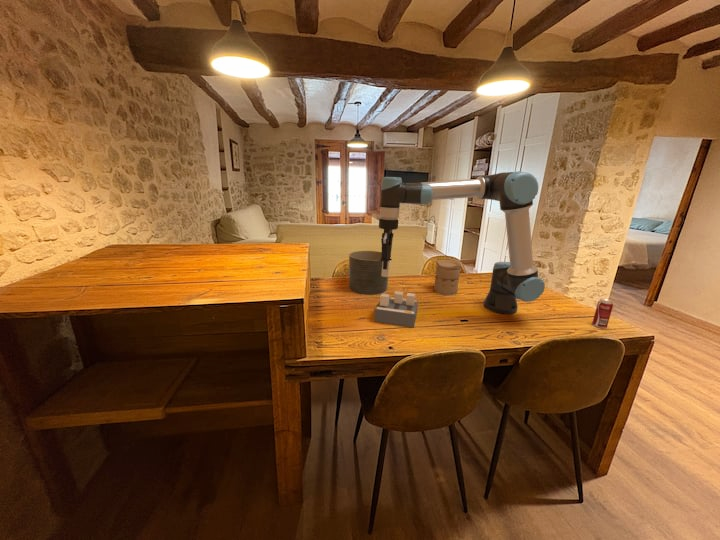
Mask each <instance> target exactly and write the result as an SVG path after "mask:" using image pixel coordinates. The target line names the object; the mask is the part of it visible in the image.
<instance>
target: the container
mask: <svg viewBox="0 0 720 540" xmlns="http://www.w3.org/2000/svg"><path fill="white" fill-rule="evenodd" d="M461 267H462V263H461V262H460V261H457V260H453V259H448V258H447V259H438V260H437V261H436V269H435V278H434V286H433V287H434V292H435V293H437V294H439V295H443V296H456V295H457V294H458V290H459V281H460V277H461Z"/></svg>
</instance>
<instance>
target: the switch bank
mask: <svg viewBox="0 0 720 540" xmlns="http://www.w3.org/2000/svg"><path fill="white" fill-rule="evenodd" d="M406 299H407V298H403V302H402V304H397V303H394V296H389V305H388V307H386V306H380V300H379V301H378V303H377V304H376V307H375V309H374V323H379V324H385V325H392V326H400V327H406V328H415V324H416V319H417V315H418V308H419V300H417V299H415V304H414V306H409V305H406Z"/></svg>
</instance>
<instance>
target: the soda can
mask: <svg viewBox="0 0 720 540" xmlns="http://www.w3.org/2000/svg"><path fill="white" fill-rule="evenodd" d="M613 303H614V302H613V301H612V300H608V299H606V298H605V299H604V298H600V299H599V300H598V301H597V304H596V306H595V307H596V309H595V312H594V315H593V319H592V322H591V324H592V326H593V327H595V328H598V329H607V327H608V324H609V321H610V317H611V314H612V310H613V307H614V305H613Z"/></svg>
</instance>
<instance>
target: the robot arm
mask: <svg viewBox="0 0 720 540" xmlns="http://www.w3.org/2000/svg"><path fill="white" fill-rule="evenodd" d="M538 193H539V182H538V180H537V178H536V177H535V176H534V175H533V174H532V173H530V172H527V171H520V170H519V171H509V172H504V171H503V172H499V173H492V174H489V175H488V174H487V175H480V176H478V177H477V178H473V179H456V180H454V179H453V180H441V181H439V180H438V181H425V182H422V181H421V182H406V183H405V182H403V179H402V177H399V176H384V177H383V178H382V180H381V185H380V202H379V208H378V212H379V217H380V218H379V221H378V228H379V229H381V230H383V232H382V234H381V252H382V257H381V260H380V261H382V274H381V276H383V277H388V278H389V273H390V263H391V262H390V261H392V249H393V248H392V247H393V238H394V233H393V230H394V231H395V230H397V229H399V218H400V208H401V207H400V205H401V204H411V205H412V204H414V205H416V204H417V205H428V204H430V203H431V202H432V201H435V200H436V201H437V200H451V199H468V198H476V200H491V201H496V202H497V201H498V202H499V207H500V210H501V212H503V213H504V217H505V219H504V220H505V227H506V237H507V245H508V246H507V248H508V256H509V261H497V262H495V263H494V264H493V268H492V274H491V282H490V287H489V291H488V293H487V295H486V297H485V299H484V301H483V307H484V308H485V309H487V310H488V311H491V312H494V313H498V314H505V315H507V314H508V315H509V314H516V312H518V306H519V305H518V300H520V301H522V302H525V303H531V302H534V301H536V300H538V299H539V298H540V297H541V296H542V295H543V293H544V291H545V289H546V286H545V282H544V280H543V279H542V278H541V277H539V269H538V267H537V266H536V265H534V260H533V259H534V258H533V247H532V232H531V231H532V229H531V222H530V221H531V219H530V218H531V217H530V208H531V207H533V205H534V199H535V198H536V196H537V195H538ZM389 260H390V261H389ZM389 262H390V263H389Z"/></svg>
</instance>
